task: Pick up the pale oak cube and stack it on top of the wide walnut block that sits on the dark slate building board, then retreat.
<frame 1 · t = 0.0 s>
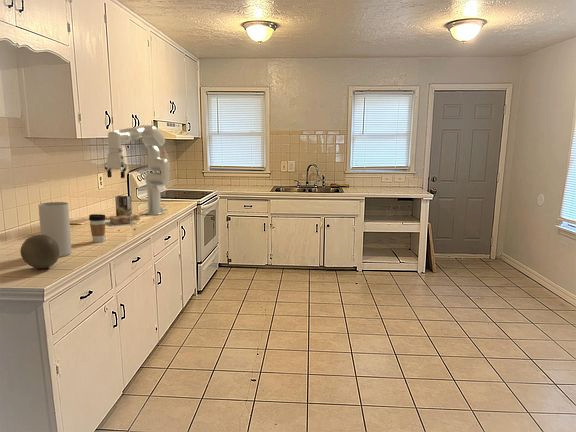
hand: (116, 177, 272), 31 cm above the table, tool pointing down, fingers open, 9 cm apart
cantaloupe: (42, 269, 182), on the table
building board: (120, 225, 276), on the table
coffee cup: (98, 241, 232), on the table
coffee box: (124, 218, 299), on the table
cylinder vase: (57, 254, 204), on the table
oak cube: (134, 221, 289), on the table
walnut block: (120, 223, 275), point 1 cm above the table, touching building board
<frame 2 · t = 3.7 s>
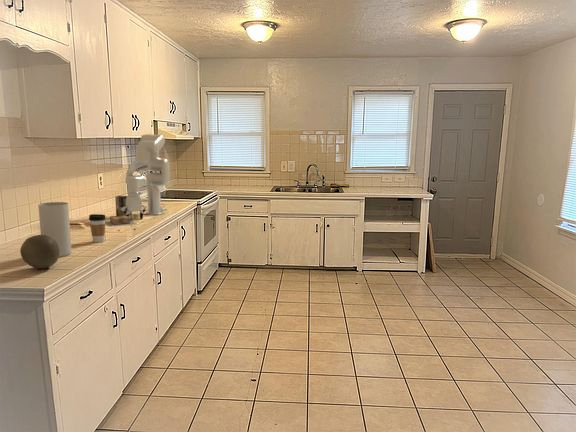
hand: (134, 219, 289), 2 cm above the table, tool pointing down, fingers open, 8 cm apart
nothing on the table moved.
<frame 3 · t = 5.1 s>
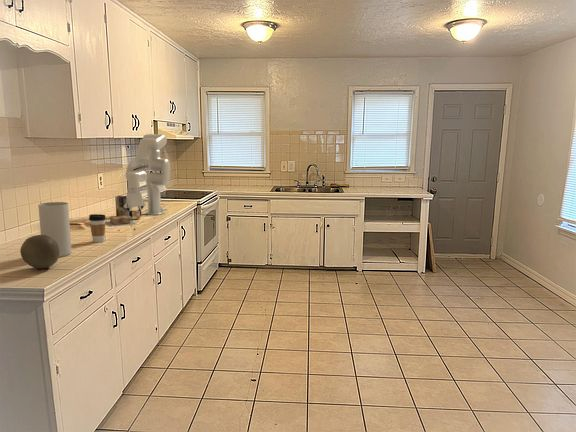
hand: (135, 215, 289), 4 cm above the table, tool pointing down, fingers closed on oak cube, 5 cm apart
oak cube: (135, 218, 290), point 2 cm above the table, touching gripper
everything else where it was.
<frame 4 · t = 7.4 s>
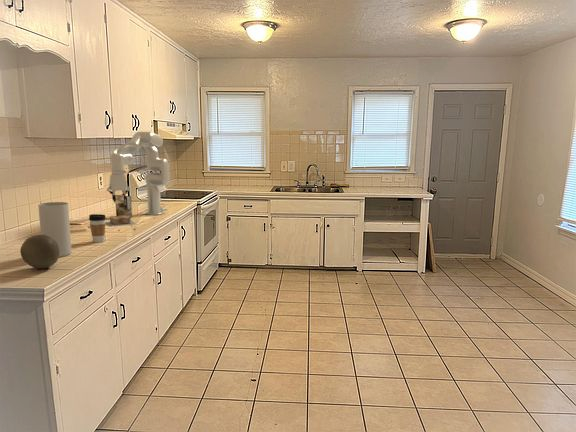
hand: (119, 200, 273), 17 cm above the table, tool pointing down, fingers closed on oak cube, 5 cm apart
oak cube: (118, 202, 273), point 15 cm above the table, touching gripper
everything else where it was.
when the fingers open (7 cm above the table, at t = 9.8 s): oak cube stays where it is, resting on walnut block.
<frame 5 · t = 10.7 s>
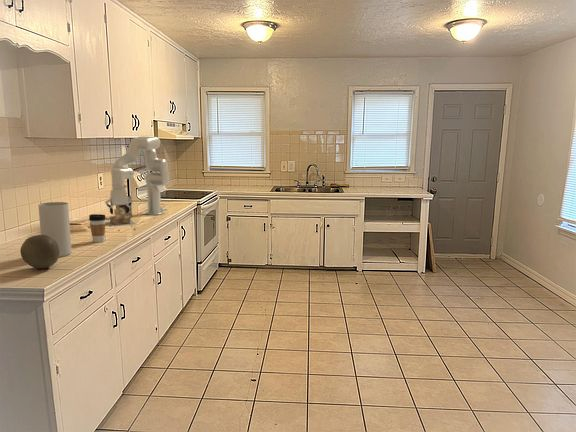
hand: (119, 213, 274), 8 cm above the table, tool pointing down, fingers open, 9 cm apart
oak cube: (119, 217, 275), point 5 cm above the table, touching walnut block
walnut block: (120, 223, 275), point 1 cm above the table, touching building board, oak cube
everything else where it was.
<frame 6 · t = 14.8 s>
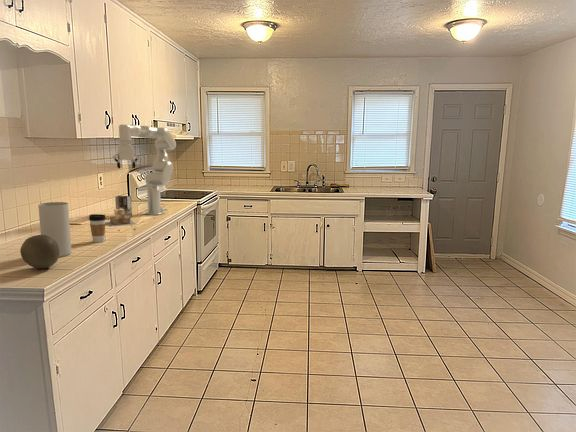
hand: (126, 168, 288), 36 cm above the table, tool pointing down, fingers open, 9 cm apart
nothing on the table moved.
at the end: oak cube inside the target area on the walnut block (0.4 cm from its centre), point 4.0 cm above the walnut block's base; oak cube tilted 0°; the gripper is holding nothing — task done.
